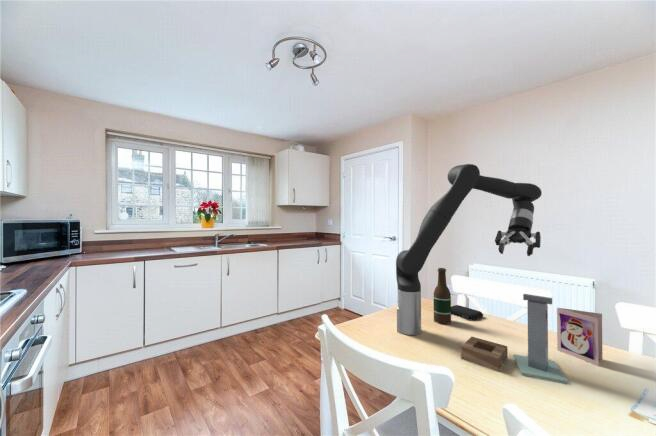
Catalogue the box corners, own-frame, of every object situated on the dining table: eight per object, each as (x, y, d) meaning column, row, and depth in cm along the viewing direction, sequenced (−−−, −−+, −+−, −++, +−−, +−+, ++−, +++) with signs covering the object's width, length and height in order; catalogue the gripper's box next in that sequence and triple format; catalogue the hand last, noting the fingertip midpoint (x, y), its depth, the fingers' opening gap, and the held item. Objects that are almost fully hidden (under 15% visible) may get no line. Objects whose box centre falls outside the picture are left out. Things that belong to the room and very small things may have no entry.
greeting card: (555, 350, 96) (555, 307, 96) (569, 346, 99) (568, 305, 99) (596, 366, 86) (596, 318, 86) (610, 362, 88) (610, 315, 88)
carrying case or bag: (443, 313, 136) (471, 322, 123) (443, 307, 136) (471, 315, 123) (456, 309, 141) (485, 318, 129) (456, 303, 141) (485, 311, 129)
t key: (525, 359, 89) (525, 292, 89) (553, 367, 84) (552, 297, 84) (523, 364, 86) (522, 295, 86) (551, 373, 81) (551, 300, 81)
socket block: (471, 347, 99) (471, 336, 99) (507, 358, 91) (507, 346, 91) (460, 358, 91) (460, 346, 91) (498, 371, 83) (498, 358, 83)
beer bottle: (454, 324, 120) (454, 270, 120) (437, 324, 120) (436, 270, 120) (447, 318, 128) (446, 266, 128) (430, 318, 128) (430, 266, 128)
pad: (521, 374, 81) (521, 372, 81) (513, 356, 92) (513, 354, 92) (568, 384, 77) (568, 381, 77) (554, 363, 88) (554, 360, 88)
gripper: (498, 216, 114) (490, 245, 105) (542, 215, 103) (537, 248, 95) (502, 228, 117) (494, 258, 109) (544, 229, 107) (539, 262, 99)
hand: (514, 253), depth 102 cm, fingers open, 8 cm apart
